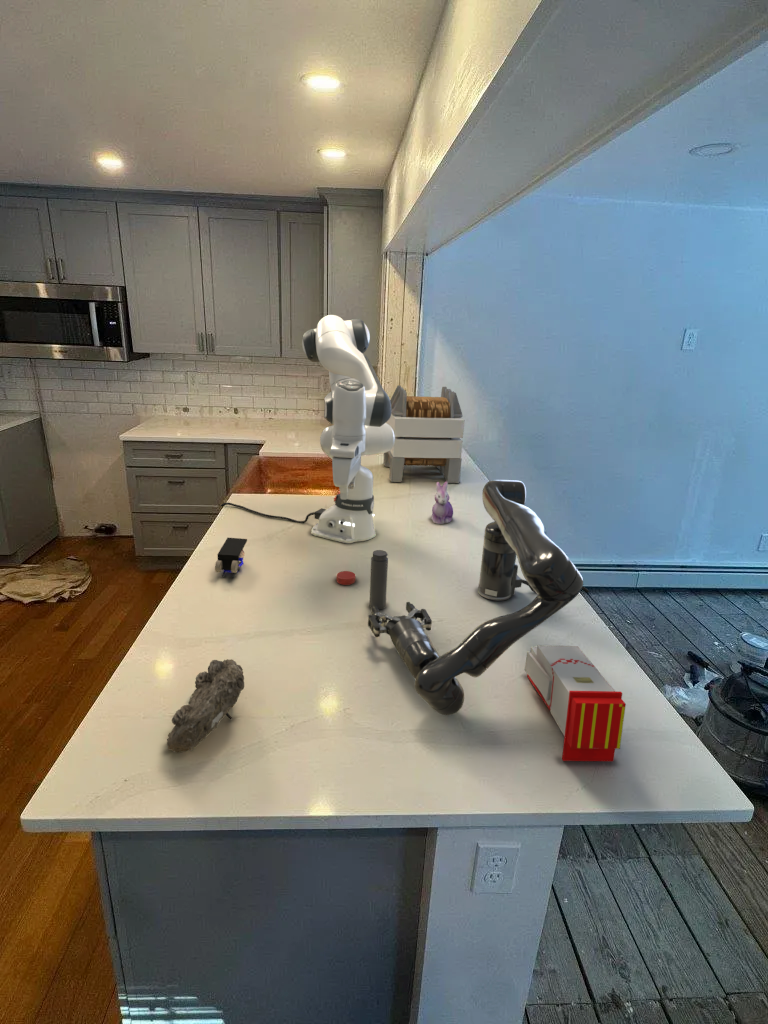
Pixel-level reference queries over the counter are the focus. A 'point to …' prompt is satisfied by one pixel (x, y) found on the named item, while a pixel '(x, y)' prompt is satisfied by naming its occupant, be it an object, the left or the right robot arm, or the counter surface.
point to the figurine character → (230, 556)
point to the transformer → (426, 434)
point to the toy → (578, 701)
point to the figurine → (442, 505)
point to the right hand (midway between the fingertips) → (391, 607)
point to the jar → (378, 579)
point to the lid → (345, 577)
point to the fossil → (206, 705)
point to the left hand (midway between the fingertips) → (347, 493)
